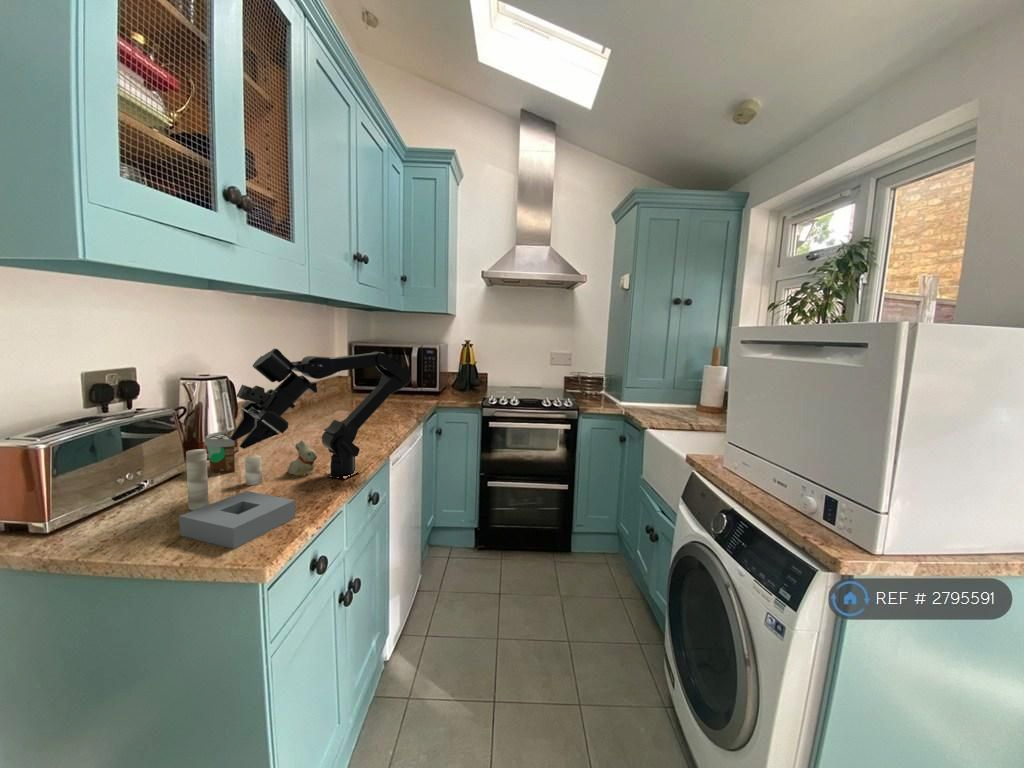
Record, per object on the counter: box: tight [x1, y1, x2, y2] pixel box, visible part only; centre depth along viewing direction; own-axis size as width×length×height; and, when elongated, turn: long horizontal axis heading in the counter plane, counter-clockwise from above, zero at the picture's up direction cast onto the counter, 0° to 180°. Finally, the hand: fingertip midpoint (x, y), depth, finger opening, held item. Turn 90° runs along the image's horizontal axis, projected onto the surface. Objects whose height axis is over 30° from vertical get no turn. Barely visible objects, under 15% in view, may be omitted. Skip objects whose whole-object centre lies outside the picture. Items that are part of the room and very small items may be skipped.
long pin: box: [185, 448, 210, 511], centre depth 89 cm, size 4×4×13 cm
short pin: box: [244, 455, 263, 486], centre depth 105 cm, size 4×4×7 cm
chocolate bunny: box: [286, 439, 318, 476], centre depth 113 cm, size 6×8×10 cm
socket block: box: [178, 490, 296, 550], centre depth 81 cm, size 14×14×4 cm
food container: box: [203, 430, 236, 474], centre depth 113 cm, size 12×6×10 cm, turn 44°
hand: (236, 443), depth 94 cm, fingers open, 9 cm apart
